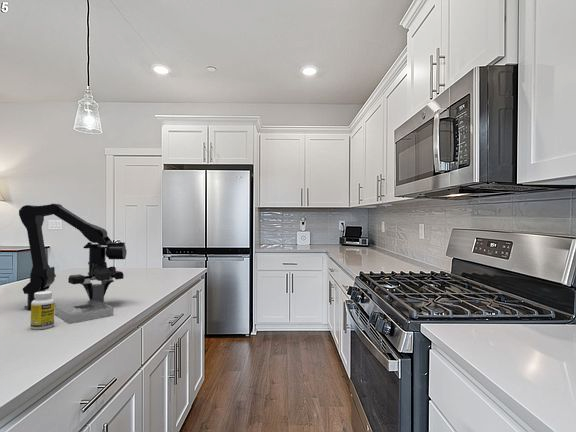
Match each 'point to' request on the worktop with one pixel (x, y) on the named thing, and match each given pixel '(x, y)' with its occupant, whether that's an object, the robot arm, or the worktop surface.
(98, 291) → the plug
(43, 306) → the pill bottle
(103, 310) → the socket plate
